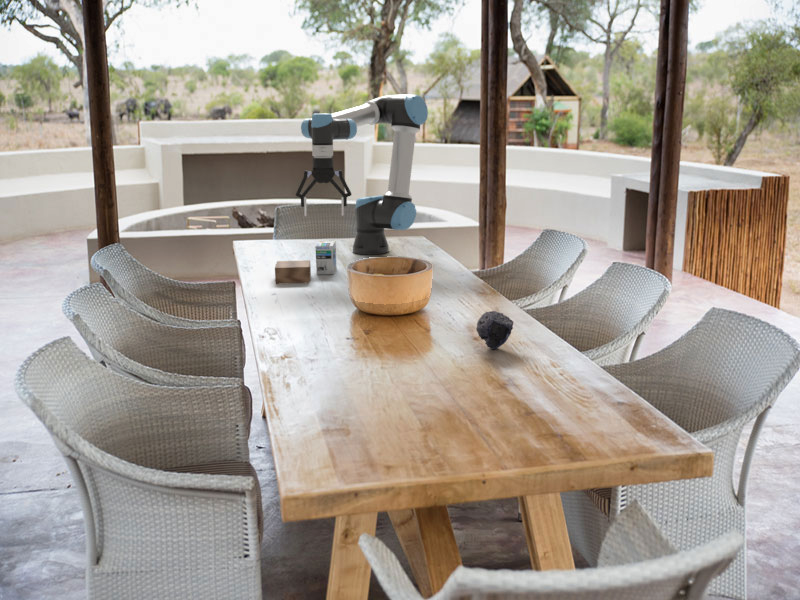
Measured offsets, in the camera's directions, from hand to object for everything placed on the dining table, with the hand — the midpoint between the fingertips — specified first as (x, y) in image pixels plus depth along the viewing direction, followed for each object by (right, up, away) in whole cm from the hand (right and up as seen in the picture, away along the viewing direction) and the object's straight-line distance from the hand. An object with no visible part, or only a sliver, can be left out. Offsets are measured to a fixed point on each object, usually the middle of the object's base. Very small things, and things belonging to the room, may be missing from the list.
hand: (324, 215), depth 306 cm
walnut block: (-10, -24, -7) cm, 27 cm away
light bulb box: (0, -21, +5) cm, 21 cm away
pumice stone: (+52, -44, -91) cm, 114 cm away
